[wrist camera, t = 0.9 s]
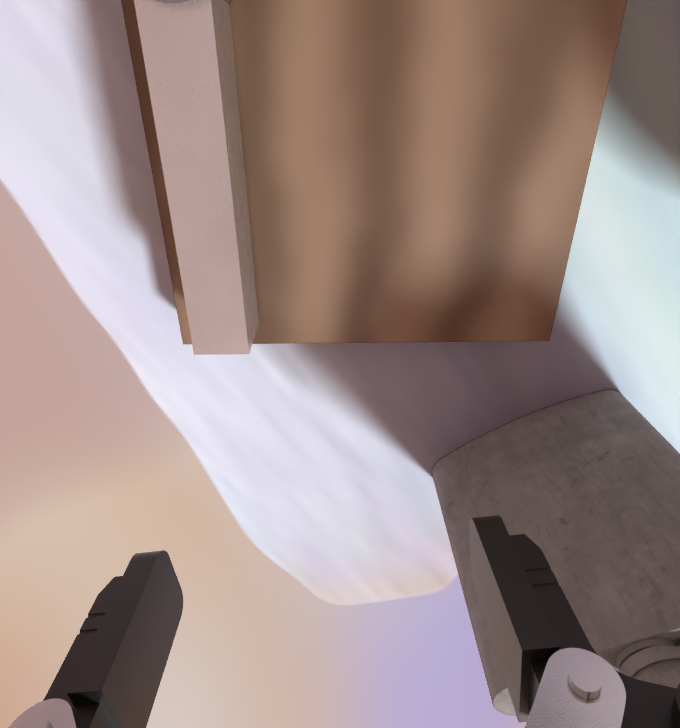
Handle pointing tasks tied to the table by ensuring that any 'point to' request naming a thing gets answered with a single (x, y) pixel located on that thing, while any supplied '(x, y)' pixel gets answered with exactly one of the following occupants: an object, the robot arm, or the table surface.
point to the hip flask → (580, 526)
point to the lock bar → (202, 165)
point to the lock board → (408, 162)
